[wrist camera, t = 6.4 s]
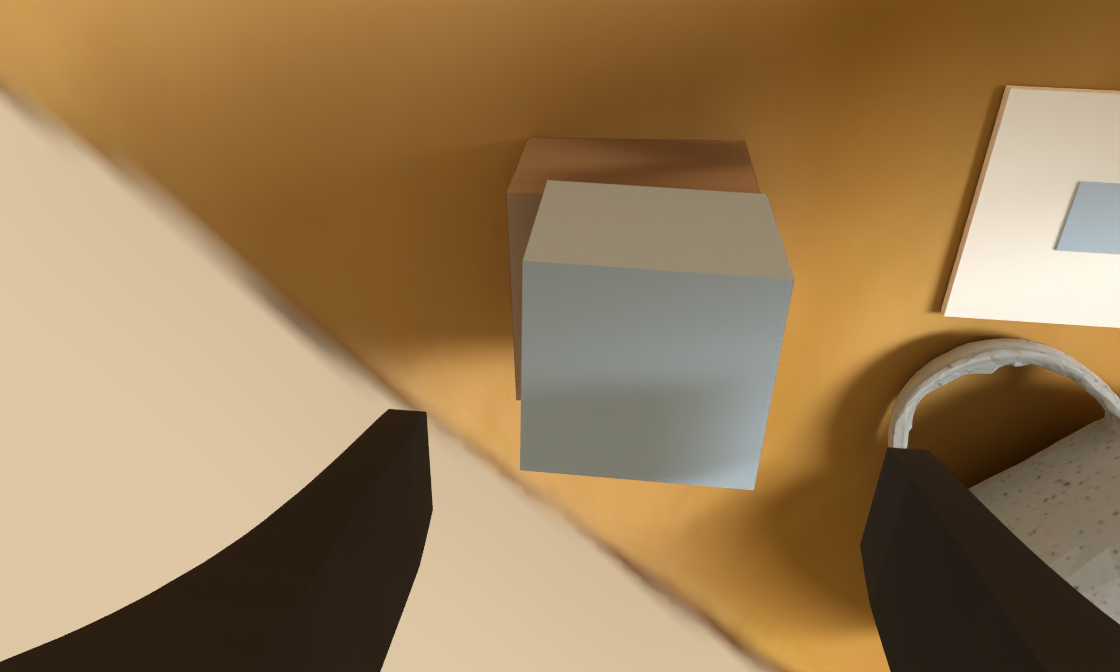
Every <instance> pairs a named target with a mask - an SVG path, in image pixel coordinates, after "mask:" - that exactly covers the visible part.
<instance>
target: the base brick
mask: <svg viewBox="0 0 1120 672" xmlns="http://www.w3.org/2000/svg"><path fill="white" fill-rule="evenodd" d="M547 180H554V181H570V182H585V183H601V184H616V185H632V186H648V187H663V188H679V189H694V190H710V191H725V192H741V193H757V194H761V192H760V189H759V186H758V183H757V179H756V176H755V173H754V169H753V166H752V163H751V160H750V156H749V153H748V150H747V146H746V143H745V141H715V140H649V139H582V138H528V141H527V143H526V146H525V148H524V151H523V153H522V156H521V158H520V160H519V163H518V165H517V168H516V170H515V173H514V175H513V178H512V180H511V183H510V185H509V188H508V190H507V193H506V194H507V215H508V236H509V257H510V277H511V298H512V319H513V340H514V361H515V382H516V400H521V360H522V273H523V258H524V255H525V251H526V248H527V245H528V242H529V238H530V235H531V232H532V229H533V225H534V222H535V219H536V216H537V212H538V209H539V206H540V203H541V199H542V196H543V193H544V190H545V186H546V183H547Z"/></svg>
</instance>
